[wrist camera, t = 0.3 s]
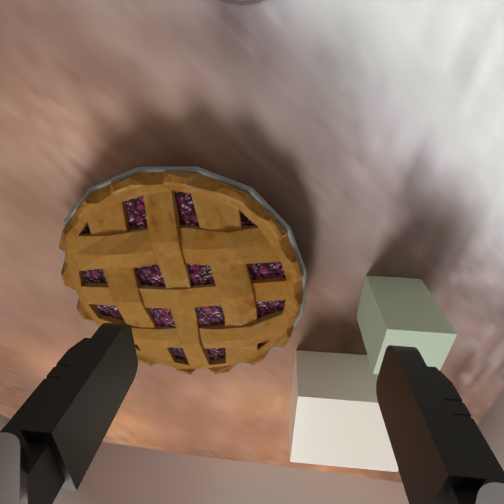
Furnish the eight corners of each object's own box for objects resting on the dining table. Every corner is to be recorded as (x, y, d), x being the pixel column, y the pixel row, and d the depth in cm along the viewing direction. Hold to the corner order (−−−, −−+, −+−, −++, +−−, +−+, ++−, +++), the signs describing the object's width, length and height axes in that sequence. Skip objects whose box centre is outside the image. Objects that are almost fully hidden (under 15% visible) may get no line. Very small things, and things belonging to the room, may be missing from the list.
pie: (38, 180, 27) (-8, 201, 23) (286, 129, 24) (287, 143, 19) (134, 353, 38) (115, 390, 34) (317, 338, 34) (322, 377, 30)
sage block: (365, 275, 29) (387, 329, 23) (421, 278, 29) (457, 334, 23) (356, 315, 32) (372, 373, 26) (406, 319, 31) (435, 378, 25)
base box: (295, 348, 35) (297, 396, 30) (406, 355, 34) (427, 406, 29) (289, 412, 41) (290, 461, 36) (382, 420, 40) (397, 471, 35)
